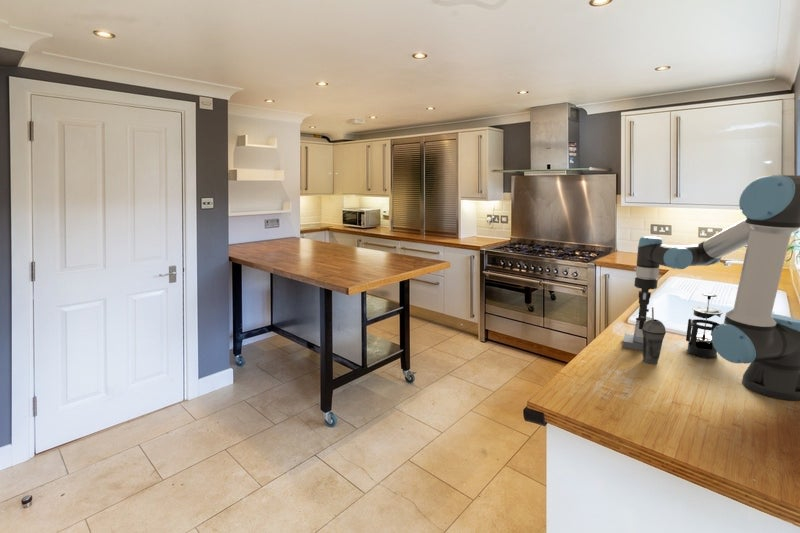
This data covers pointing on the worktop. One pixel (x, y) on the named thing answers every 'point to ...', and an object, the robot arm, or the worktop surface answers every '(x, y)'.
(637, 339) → the medicine box
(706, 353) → the french press
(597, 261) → the worktop surface
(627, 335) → the base board
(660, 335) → the beverage cup
